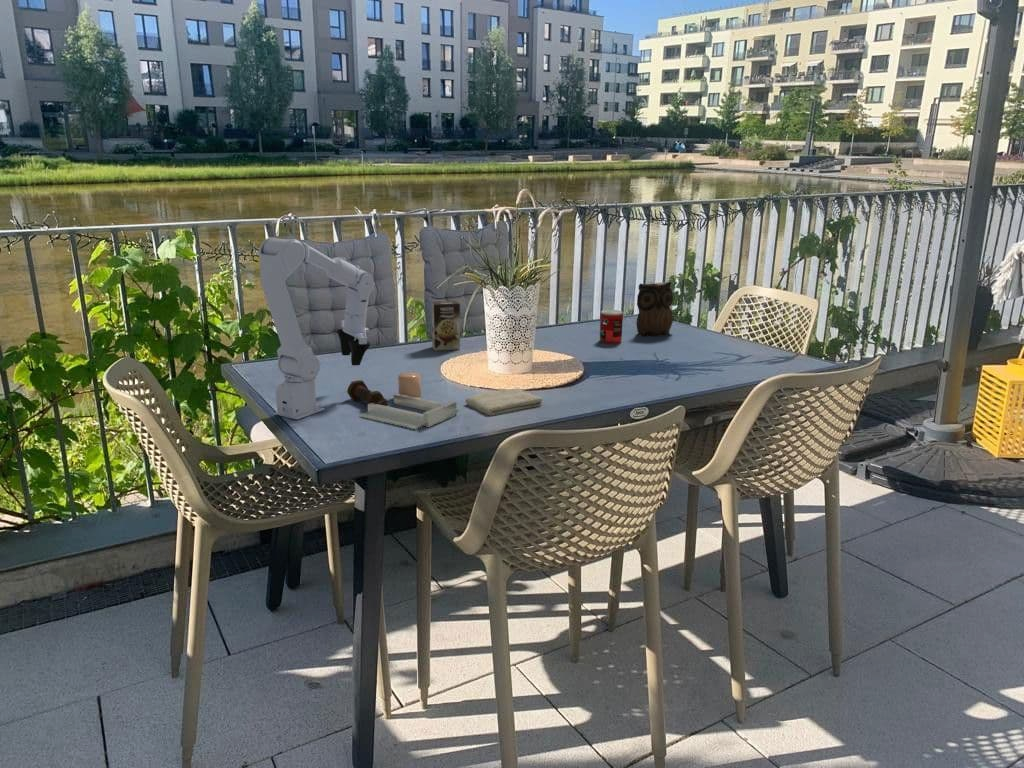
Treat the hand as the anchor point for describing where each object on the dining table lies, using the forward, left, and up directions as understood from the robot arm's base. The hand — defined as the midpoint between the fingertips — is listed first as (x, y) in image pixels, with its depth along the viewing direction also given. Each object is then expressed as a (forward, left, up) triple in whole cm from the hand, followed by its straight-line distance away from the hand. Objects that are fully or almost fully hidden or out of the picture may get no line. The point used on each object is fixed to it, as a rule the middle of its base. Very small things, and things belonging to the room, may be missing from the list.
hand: (350, 359), depth 208 cm
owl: (+121, -40, -9) cm, 127 cm away
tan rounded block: (+6, -16, -9) cm, 19 cm away
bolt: (-6, -12, -10) cm, 17 cm away
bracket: (-6, -26, -9) cm, 28 cm away
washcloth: (+14, -42, -10) cm, 45 cm away
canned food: (+99, -33, -9) cm, 104 cm away
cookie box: (+57, +10, -9) cm, 58 cm away
